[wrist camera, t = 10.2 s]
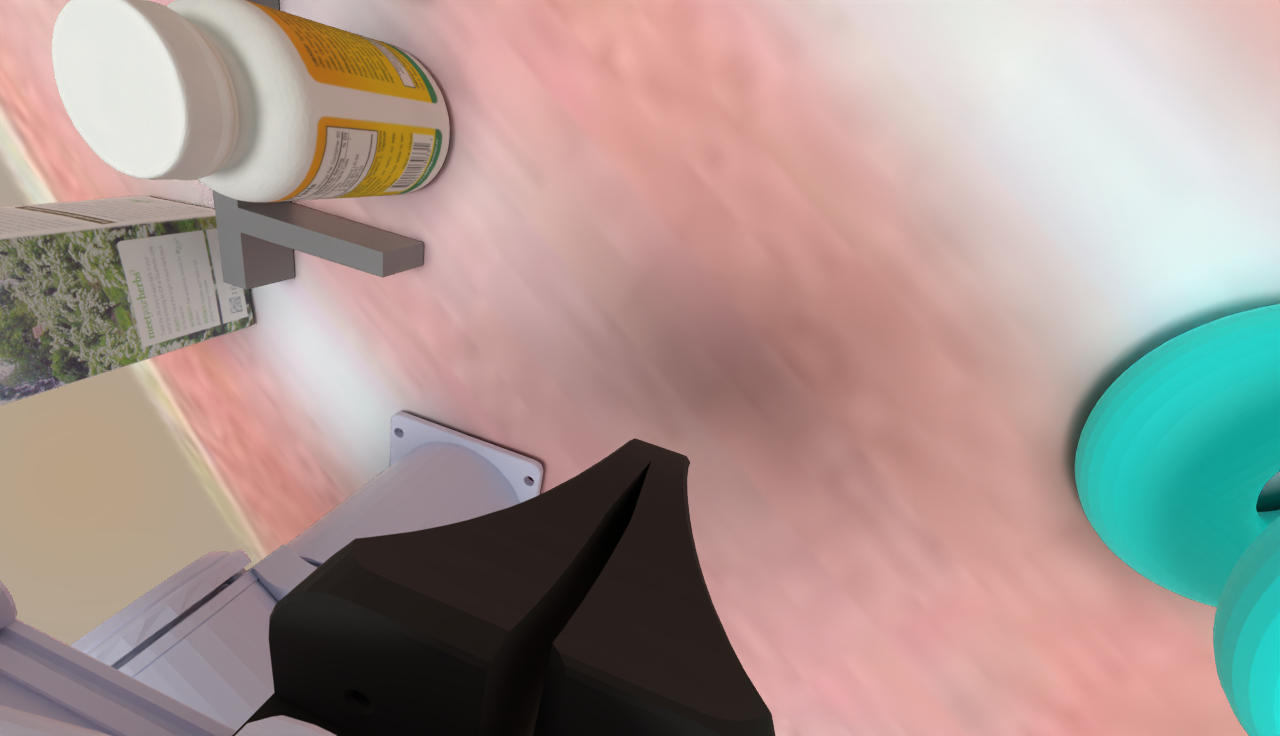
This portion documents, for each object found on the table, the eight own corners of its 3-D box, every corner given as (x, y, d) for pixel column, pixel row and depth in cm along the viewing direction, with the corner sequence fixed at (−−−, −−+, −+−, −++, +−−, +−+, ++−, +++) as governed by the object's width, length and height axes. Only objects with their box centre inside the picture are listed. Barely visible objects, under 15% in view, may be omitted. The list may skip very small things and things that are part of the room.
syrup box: (144, 192, 26) (-496, 233, 13) (242, 211, 25) (-358, 275, 12) (171, 305, 29) (-354, 433, 16) (262, 327, 27) (-226, 486, 14)
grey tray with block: (420, 318, 25) (326, 360, 20) (273, 270, 26) (151, 298, 21) (447, -304, 16) (294, -497, 11) (228, -327, 18) (8, -508, 13)
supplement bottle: (463, 193, 22) (235, 212, 13) (352, 194, 23) (80, 211, 14) (443, 37, 20) (163, -62, 11) (324, 49, 21) (-7, -32, 13)
